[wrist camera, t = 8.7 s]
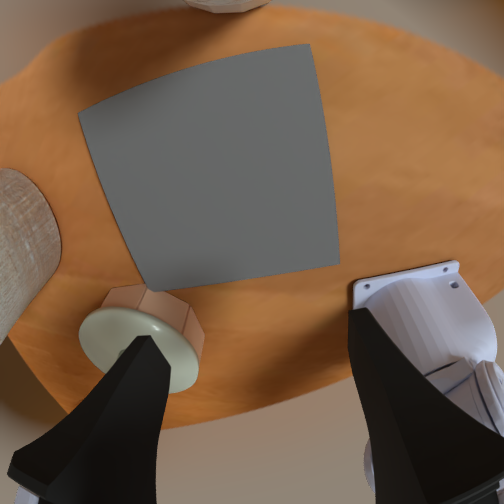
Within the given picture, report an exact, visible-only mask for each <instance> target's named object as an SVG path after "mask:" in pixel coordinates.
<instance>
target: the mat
mask: <svg viewBox="0 0 504 504" xmlns="http://www.w3.org/2000/svg"><path fill="white" fill-rule="evenodd" d="M78 116H79V119H80V123H81V126H82V129H83V133H84V136H85V139H86V142H87V145H88V148H89V151H90V154H91V157H92V160H93V162H94V165H95V168H96V171H97V174H98V176H99V179H100V182H101V184H102V187H103V189H104V192H105V195H106V197H107V200H108V202H109V205H110V207H111V210H112V212H113V214H114V217H115V219H116V221H117V224H118V226H119V228H120V231H121V233H122V235H123V237H124V240H125V242H126V244H127V246H128V248H129V251H130V253H131V255H132V257H133V259H134V261H135V263H136V265H137V268H138V270H139V272H140V274H141V276H142V278H143V280H144V282H145V284H146V286H147V288H148V289H149V290H151V291H153V292H160V291H168V290H175V289H183V288H190V287H197V286H204V285H211V284H218V283H225V282H232V281H238V280H245V279H252V278H258V277H264V276H271V275H277V274H283V273H290V272H296V271H302V270H308V269H314V268H320V267H326V266H331V265H337V264H340V255H339V239H338V226H337V214H336V203H335V193H334V184H333V175H332V167H331V159H330V152H329V145H328V138H327V131H326V125H325V119H324V113H323V107H322V101H321V96H320V90H319V85H318V80H317V75H316V70H315V66H314V61H313V56H312V52H311V48H310V44H302V45H293V46H286V47H279V48H272V49H266V50H261V51H255V52H250V53H245V54H240V55H236V56H231V57H227V58H223V59H219V60H215V61H211V62H207V63H203V64H200V65H196V66H193V67H190V68H186V69H183V70H180V71H177V72H174V73H171V74H168V75H165V76H162V77H159V78H156V79H154V80H151V81H148V82H146V83H143V84H140V85H138V86H135V87H133V88H130V89H128V90H126V91H123V92H121V93H119V94H116V95H114V96H112V97H110V98H107V99H105V100H103V101H101V102H99V103H97V104H95V105H93V106H91V107H89V108H87V109H85V110H83V111H81V112H79V113H78Z"/></svg>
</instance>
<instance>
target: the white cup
mask: <svg viewBox="0 0 504 504" xmlns="http://www.w3.org/2000/svg"><path fill="white" fill-rule="evenodd" d="M183 1H185V2H186V3H187V4H188V5H190V6H192V7H195V8H199V9H202V10H206V11H209V12H212V13H236V12H245V11H248V10H250V9H253V8H256V7H258V6H261V5H264V4H267V3H269V2H270V1H271V0H183Z"/></svg>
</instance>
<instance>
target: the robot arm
mask: <svg viewBox="0 0 504 504" xmlns="http://www.w3.org/2000/svg"><path fill="white" fill-rule="evenodd" d="M444 268H445V269H444ZM458 269H459V263H458V262H457V261H456V260H453V261H448V262H444V263H439V264H435V265H430V266H426V267H421V268H417V269H412V270H407V271H402V272H397V273H393V274H388V275H383V276H377V277H372V278H367V279H362V280H358V281H356V282H355V283H354V284H353V310H349V319H348V352H349V357H350V363H351V368H352V373H353V377H354V380H355V384H356V387H357V390H358V394H359V397H360V401H361V404H362V408H363V411H364V415H365V419H366V422H367V427H368V431H369V437H370V438H369V440H368V442H367V444H366V447H365V453H364V471H365V476H366V479H367V482H368V484H369V486H370V488H371V489H372V491H373V492H374V493H375V495H376V496H375V497H376V504H504V373H503V371H502V370H501V369H500V367H499V366H498V365H497V364H496V363H495V362H494V361H495V358H496V353H497V339H496V334H495V329H494V326H493V324H492V322H491V319H490V317H489V316H488V314H487V312H486V311H485V310H484V308H483V306H482V305H481V304H480V302H479V301H478V299H477V298H476V296H475V295H474V294H473V292H472V291H471V289H470V288H469V287H468V285H467V284H466V283H465V281H464V280H463V278H462V277H461V276H460V275H459V273H458ZM366 284H368V285H367V286H365V285H366ZM170 378H171V366H170V364H169V363H168V361H167V360H166V358H165V357H164V355H163V354H162V352H161V351H160V349H159V348H158V346H157V345H156V343H155V342H154V340H153V338H152V337H151V335H141V336H136V338H135V339H134V340H133V341H132V342H131V343H130V345H129V346H128V347H127V348H126V349H125V351H124V352H123V353H122V354H121V356H120V357H119V358H118V359H117V361H116V362H115V363H114V364H113V366H112V367H111V368H110V369H109V371H108V372H107V373H106V374H105V376H104V377H103V378H102V379H101V380H100V382H99V383H98V384H97V385H96V386H95V387H94V388H93V390H92V391H91V392H90V393H89V394H88V395H87V397H86V398H85V399H84V400H83V401H82V402H81V403H80V404H79V405H78V406H77V407H76V408H75V409H74V410H73V411H72V412H71V413H70V414H69V415H68V416H66V417H65V418H64V419H63V420H62V421H60V422H59V423H58V424H57V425H56V426H54V427H53V428H52V429H51V430H49V431H48V432H47V433H45V434H44V435H43V436H41V437H39V438H38V439H36V440H35V441H33V442H32V443H30V444H28V445H26V446H24V447H22V448H21V449H19V450H17V451H15V452H14V454H13V457H12V460H11V463H10V466H9V469H8V472H7V475H8V476H9V477H10V478H11V479H13V480H14V481H15V482H17V483H18V484H20V485H22V486H23V487H22V486H19V487H18V491H17V495H16V498H15V502H14V504H157V503H156V457H157V445H158V439H159V434H160V430H161V425H162V421H163V416H164V412H165V407H166V403H167V398H168V394H169V388H170ZM24 487H25V488H24Z"/></svg>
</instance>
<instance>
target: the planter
mask: <svg viewBox="0 0 504 504" xmlns="http://www.w3.org/2000/svg"><path fill="white" fill-rule="evenodd" d="M60 257H61V239H60V233H59V229H58V225H57V222H56V219H55V216H54V214H53V212H52V210H51V207H50V205H49V204H48V202H47V200H46V198H45V197H44V195H43V194H42V192H41V191H40V190H39V188H38V187H37V186H36V185H35V184H34V183H33V182H32V181H31V180H30V179H29V178H28V177H27V176H25V175H24V174H23V173H21V172H19V171H17V170H14V169H11V168H2V169H0V345H1V343H2V342H3V340H4V339H5V337H6V336H7V334H8V333H9V331H10V330H11V328H12V327H13V325H14V324H15V323H16V321H17V320H18V318H19V317H20V316H21V314H22V313H23V312H24V310H25V309H26V308H27V306H28V305H29V304H30V302H31V301H32V300H33V299H34V297H35V296H36V295H37V294H38V292H39V291H40V290H41V289H42V287H43V286H44V285H45V284H46V282H47V281H48V280H49V279H50V278H51V276H52V275H53V274H54V272H55V270H56V269H57V267H58V265H59V262H60Z"/></svg>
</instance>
